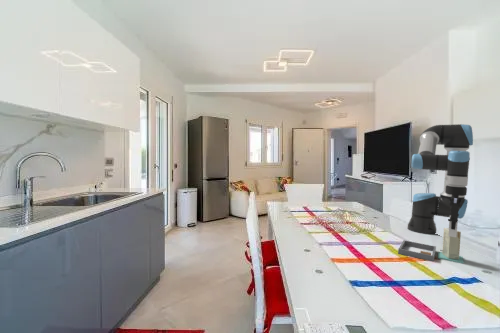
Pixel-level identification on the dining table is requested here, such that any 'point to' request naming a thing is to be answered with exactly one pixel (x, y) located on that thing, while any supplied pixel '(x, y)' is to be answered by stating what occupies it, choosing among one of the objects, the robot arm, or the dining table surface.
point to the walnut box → (425, 253)
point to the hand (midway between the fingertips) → (452, 233)
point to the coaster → (450, 258)
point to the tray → (416, 254)
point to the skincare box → (451, 244)
